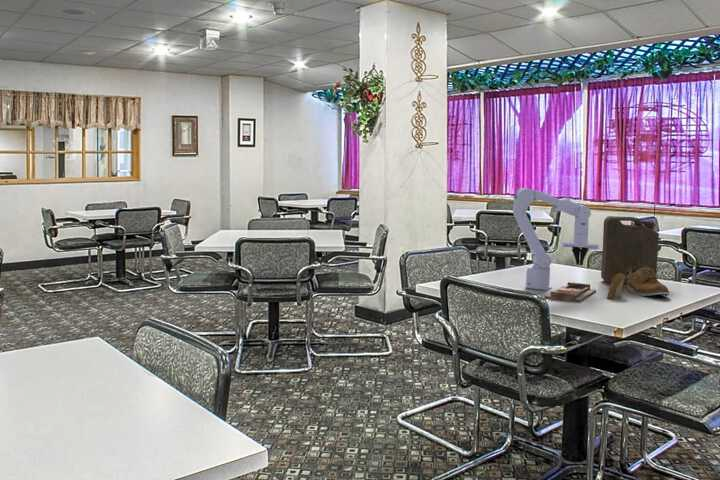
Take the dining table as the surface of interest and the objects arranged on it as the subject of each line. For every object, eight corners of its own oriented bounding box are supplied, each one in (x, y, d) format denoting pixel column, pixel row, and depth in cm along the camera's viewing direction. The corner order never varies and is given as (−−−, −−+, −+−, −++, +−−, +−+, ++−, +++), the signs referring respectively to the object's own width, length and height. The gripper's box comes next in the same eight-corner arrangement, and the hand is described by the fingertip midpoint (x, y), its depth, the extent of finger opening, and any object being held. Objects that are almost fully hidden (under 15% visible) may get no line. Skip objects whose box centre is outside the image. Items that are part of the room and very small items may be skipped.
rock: (615, 295, 261) (634, 290, 265) (604, 276, 264) (623, 271, 268) (600, 306, 269) (618, 301, 273) (589, 288, 273) (607, 283, 277)
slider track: (544, 298, 265) (544, 290, 264) (562, 288, 287) (562, 281, 286) (580, 302, 257) (580, 294, 257) (595, 291, 279) (596, 284, 279)
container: (604, 284, 298) (607, 217, 295) (599, 280, 308) (602, 215, 305) (657, 285, 295) (661, 218, 291) (650, 281, 305) (654, 216, 301)
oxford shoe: (618, 287, 291) (620, 261, 290) (641, 287, 292) (642, 262, 291) (649, 300, 264) (651, 272, 262) (674, 300, 264) (676, 272, 263)
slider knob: (557, 295, 264) (557, 289, 264) (560, 293, 267) (560, 287, 267) (569, 297, 261) (570, 290, 261) (572, 295, 264) (572, 289, 264)
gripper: (561, 233, 284) (559, 264, 285) (596, 235, 276) (594, 267, 277) (565, 231, 290) (564, 262, 291) (600, 233, 282) (598, 265, 283)
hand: (579, 264), depth 285 cm, fingers closed
